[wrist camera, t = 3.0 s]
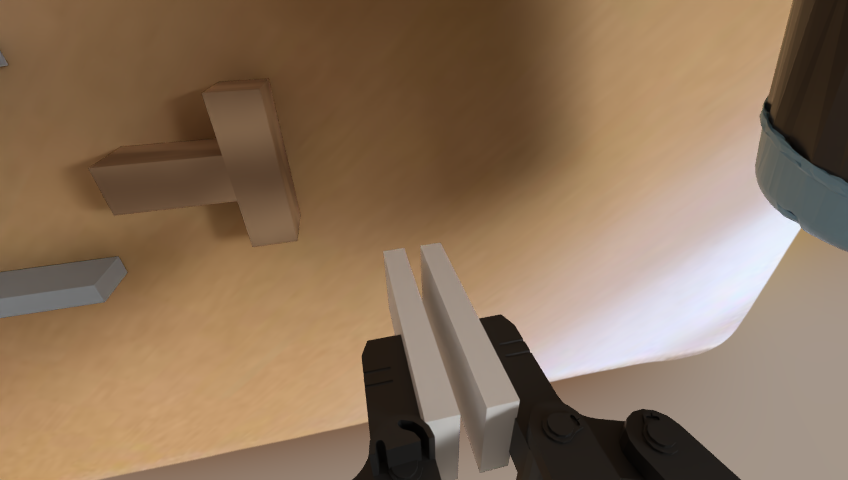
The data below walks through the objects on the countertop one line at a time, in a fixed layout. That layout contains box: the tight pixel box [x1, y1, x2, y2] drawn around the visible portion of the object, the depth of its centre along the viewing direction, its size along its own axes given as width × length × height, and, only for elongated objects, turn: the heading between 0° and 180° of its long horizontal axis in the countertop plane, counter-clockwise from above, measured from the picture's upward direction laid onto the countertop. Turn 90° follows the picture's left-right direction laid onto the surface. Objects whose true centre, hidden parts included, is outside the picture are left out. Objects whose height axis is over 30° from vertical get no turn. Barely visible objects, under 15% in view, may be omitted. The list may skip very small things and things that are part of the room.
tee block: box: [88, 79, 301, 247], centre depth 24 cm, size 10×10×4 cm
